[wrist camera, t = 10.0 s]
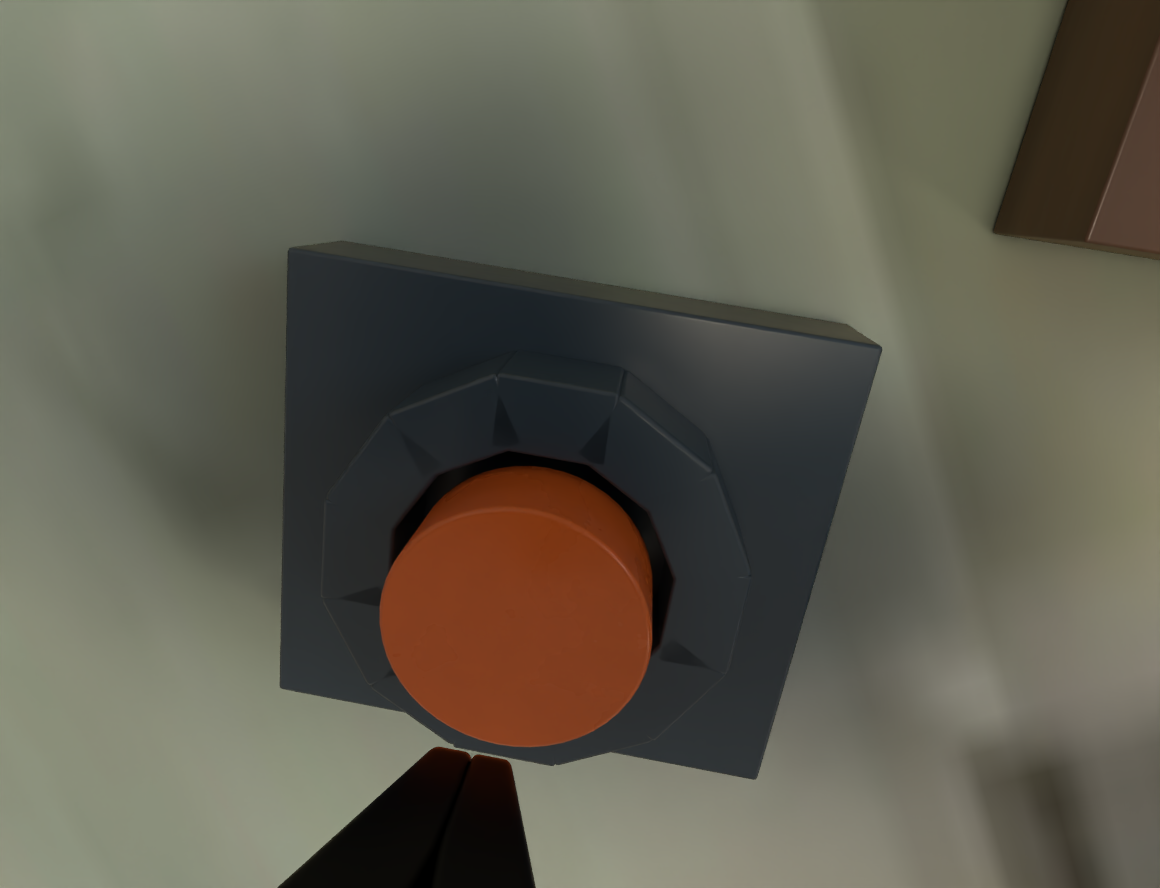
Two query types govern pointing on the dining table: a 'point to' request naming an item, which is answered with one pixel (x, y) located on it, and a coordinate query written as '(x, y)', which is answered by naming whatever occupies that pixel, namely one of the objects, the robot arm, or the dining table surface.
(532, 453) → the button housing
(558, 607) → the button
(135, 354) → the dining table surface
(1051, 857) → the dining table surface
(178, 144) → the dining table surface
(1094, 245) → the dial panel
